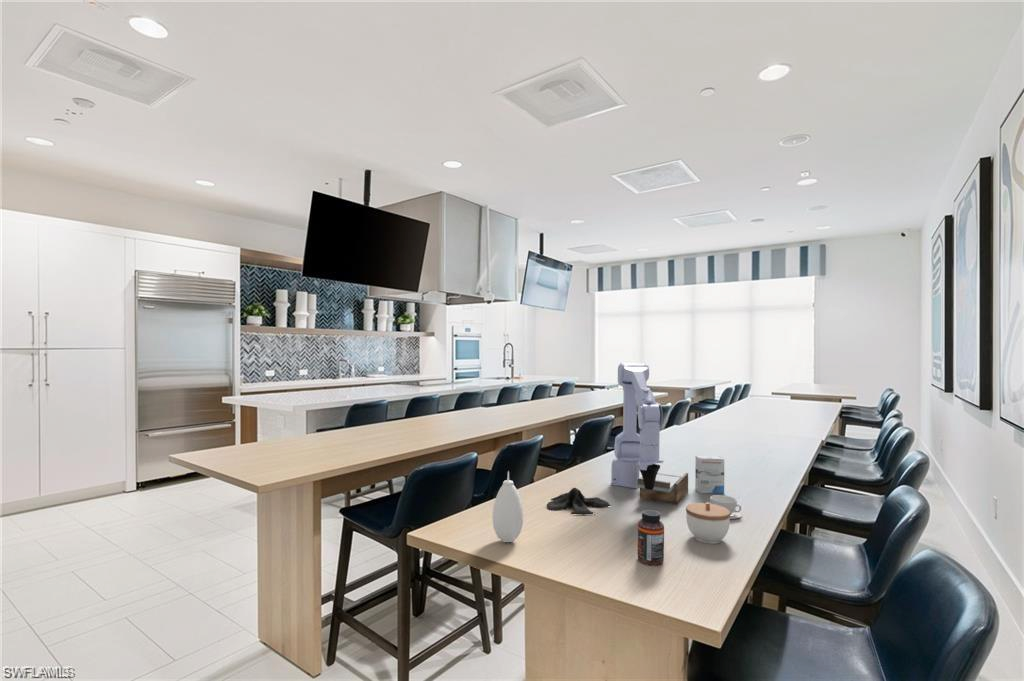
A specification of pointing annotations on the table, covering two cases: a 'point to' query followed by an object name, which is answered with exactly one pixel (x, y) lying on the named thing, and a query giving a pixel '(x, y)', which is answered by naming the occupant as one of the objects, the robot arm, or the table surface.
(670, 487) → the lid
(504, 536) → the air blower bulb
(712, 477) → the ink box
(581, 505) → the cloth
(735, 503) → the teacup
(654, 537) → the supplement bottle
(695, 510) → the lidded jar
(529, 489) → the table surface
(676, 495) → the walnut box
